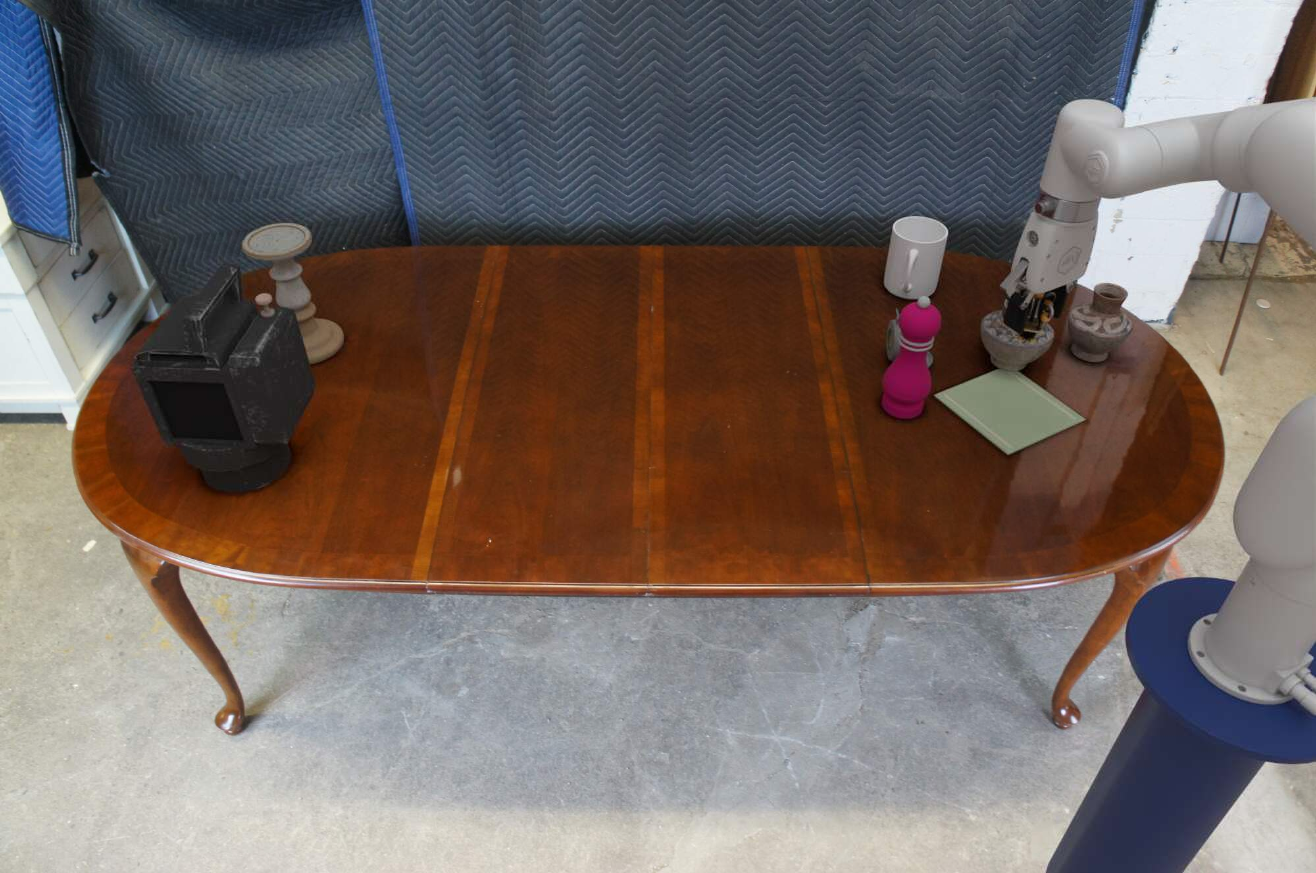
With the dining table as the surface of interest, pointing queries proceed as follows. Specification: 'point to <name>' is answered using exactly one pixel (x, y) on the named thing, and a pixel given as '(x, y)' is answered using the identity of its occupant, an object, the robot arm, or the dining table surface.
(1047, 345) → the pottery
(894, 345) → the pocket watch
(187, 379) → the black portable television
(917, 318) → the pepper mill
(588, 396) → the dining table surface
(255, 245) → the candle holder
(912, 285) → the mug
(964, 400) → the napkin
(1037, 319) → the figurine
